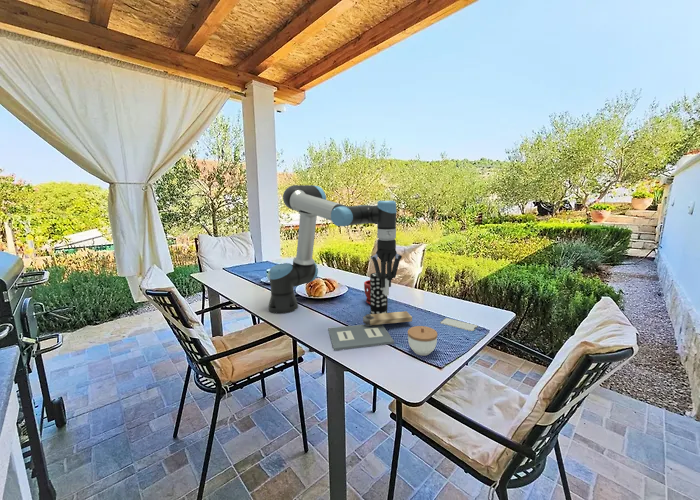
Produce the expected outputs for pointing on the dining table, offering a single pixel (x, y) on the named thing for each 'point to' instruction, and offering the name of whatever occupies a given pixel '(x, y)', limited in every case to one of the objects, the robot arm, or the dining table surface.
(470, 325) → the smartphone
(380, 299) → the spotted tube
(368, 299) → the plant pot
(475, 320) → the dining table surface
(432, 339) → the lidded jar
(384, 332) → the label panel
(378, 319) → the swing arm
